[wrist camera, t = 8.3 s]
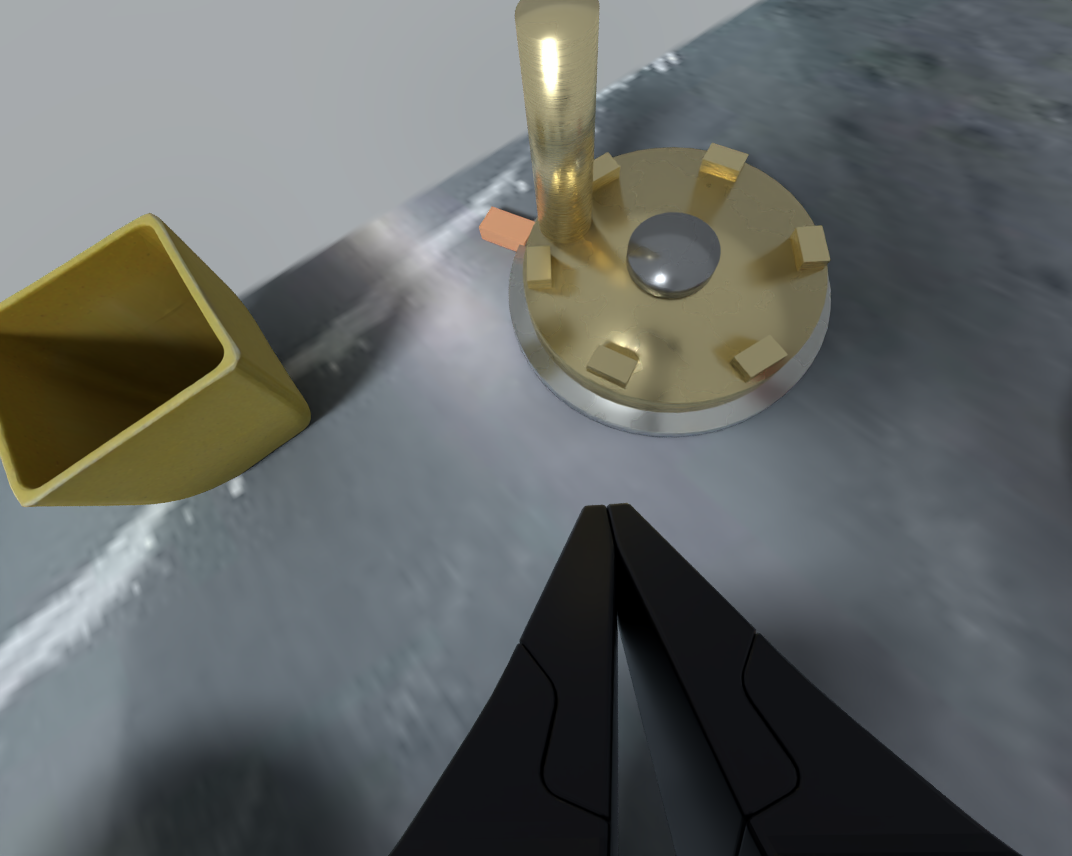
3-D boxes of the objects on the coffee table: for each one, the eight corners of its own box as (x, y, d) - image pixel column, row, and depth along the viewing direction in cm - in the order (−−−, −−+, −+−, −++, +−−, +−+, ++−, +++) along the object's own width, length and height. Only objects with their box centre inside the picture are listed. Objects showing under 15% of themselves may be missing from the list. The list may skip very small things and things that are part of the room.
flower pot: (360, 430, 24) (240, 358, 16) (221, 531, 23) (13, 512, 15) (287, 321, 27) (150, 206, 18) (159, 408, 26) (-49, 330, 17)
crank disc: (852, 225, 24) (1071, -45, 13) (744, 465, 21) (918, 364, 10) (602, 140, 27) (617, -130, 17) (476, 337, 24) (394, 160, 14)
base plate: (779, 486, 21) (817, 472, 18) (463, 376, 25) (445, 346, 21) (852, 209, 25) (893, 155, 22) (572, 145, 29) (571, 90, 25)
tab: (538, 234, 27) (536, 222, 26) (525, 255, 26) (523, 243, 26) (494, 218, 27) (491, 206, 27) (482, 238, 27) (478, 227, 26)
